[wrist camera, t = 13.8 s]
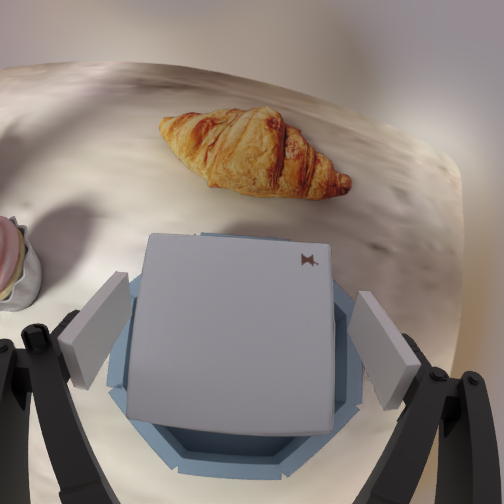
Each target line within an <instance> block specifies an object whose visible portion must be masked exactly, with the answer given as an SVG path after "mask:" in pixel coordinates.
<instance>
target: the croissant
mask: <svg viewBox="0 0 504 504" xmlns="http://www.w3.org/2000/svg"><path fill="white" fill-rule="evenodd" d="M159 130H160V133H161V135H162V137H163V138H164V140H165V141H166V142H167V143H168V145H169V146H170V148H171V150H172V151H173V153H174V154H175V155H176V156H177V157H178V158H179V160H180V161H182V162H183V163H184V164H185V165H186V166H187V167H188V168H189V169H190V170H192V171H194V172H195V173H196V174H198V175H199V176H201V177H202V178H203V179H205V180H207V181H208V186H209V187H218V188H225V189H232V190H234V191H236V192H239V193H240V194H244V195H249V196H254V197H264V198H269V197H281V198H299V199H303V198H306V199H309V200H322V199H328V198H332V197H336V196H342V195H345V194H347V193H348V191H350V189H351V178H350V177H349V176H348V175H345V174H341V173H339V172H337V171H335V170H334V167H333V164H332V162H331V161H330V160H329V159H328V158H326V157H325V156H324V155H323V154H321V153H319V152H317V151H316V150H315V149H314V148H313V147H312V146H311V145H309V144H308V142H307V141H306V139H305V138H304V137H303V136H302V135H301V133H300V132H301V130H299V129H296V128H294V127H293V126H291V125H288V124H285V123H284V121H283V118H282V117H281V115H280V113H278V112H277V111H276V110H274V109H271V108H269V107H261V108H252V109H250V110H248V111H244V110H240V109H236V108H234V109H223V110H216V111H213V112H211V113H206V114H200V113H195V112H190V113H186V114H183V115H180V116H177V117H166V118H163V119H162V120H161V122H160V124H159Z"/></svg>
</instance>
